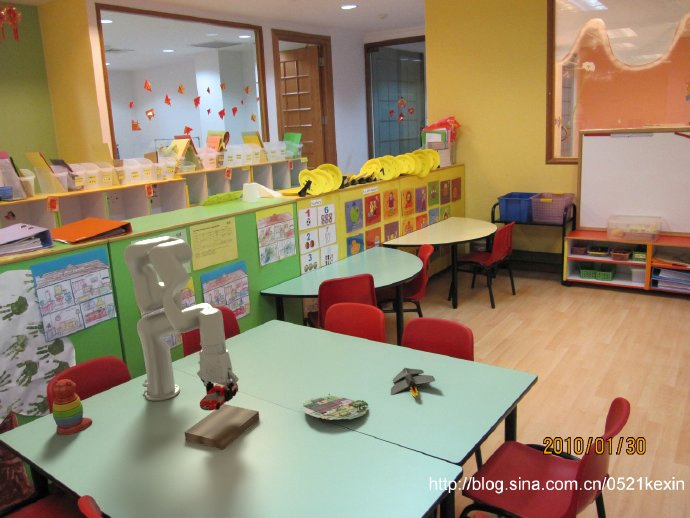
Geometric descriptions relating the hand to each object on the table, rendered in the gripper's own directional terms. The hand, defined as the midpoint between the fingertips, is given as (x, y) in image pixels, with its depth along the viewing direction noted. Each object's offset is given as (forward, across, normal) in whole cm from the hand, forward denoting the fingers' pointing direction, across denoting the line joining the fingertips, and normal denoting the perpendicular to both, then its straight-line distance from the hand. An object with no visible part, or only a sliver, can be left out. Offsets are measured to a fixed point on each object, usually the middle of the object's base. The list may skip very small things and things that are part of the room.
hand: (220, 397), depth 189 cm
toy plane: (+12, +47, +51) cm, 70 cm away
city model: (+12, +30, +24) cm, 40 cm away
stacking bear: (+12, -51, -18) cm, 55 cm away
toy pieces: (+12, -43, +45) cm, 63 cm away
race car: (+1, 0, 0) cm, 1 cm away
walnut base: (+12, 0, 0) cm, 12 cm away
